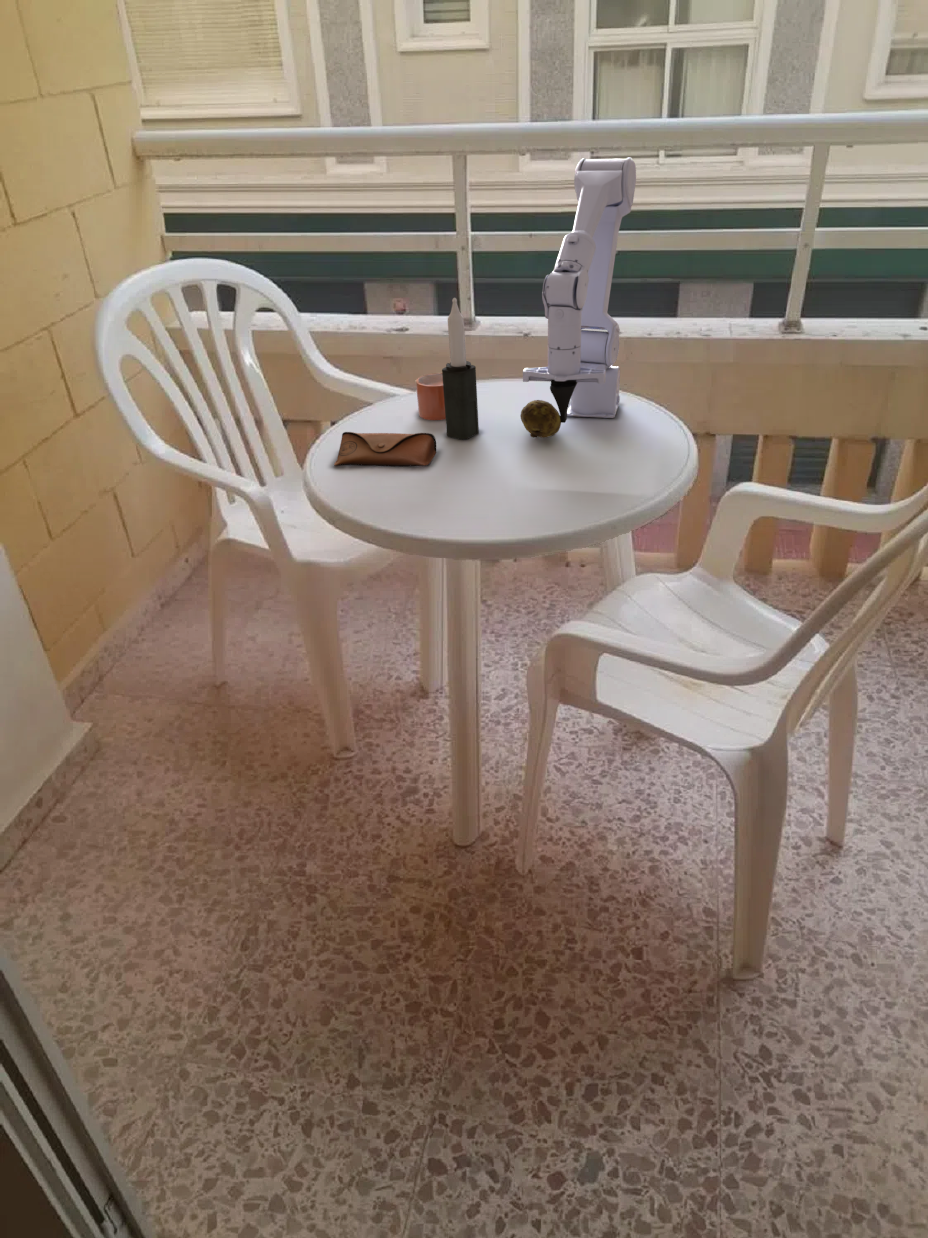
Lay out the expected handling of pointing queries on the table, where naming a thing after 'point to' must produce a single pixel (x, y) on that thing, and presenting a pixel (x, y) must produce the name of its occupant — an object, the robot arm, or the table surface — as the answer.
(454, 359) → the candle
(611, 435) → the table surface
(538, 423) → the potato
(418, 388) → the flower pot
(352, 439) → the sunglasses case
